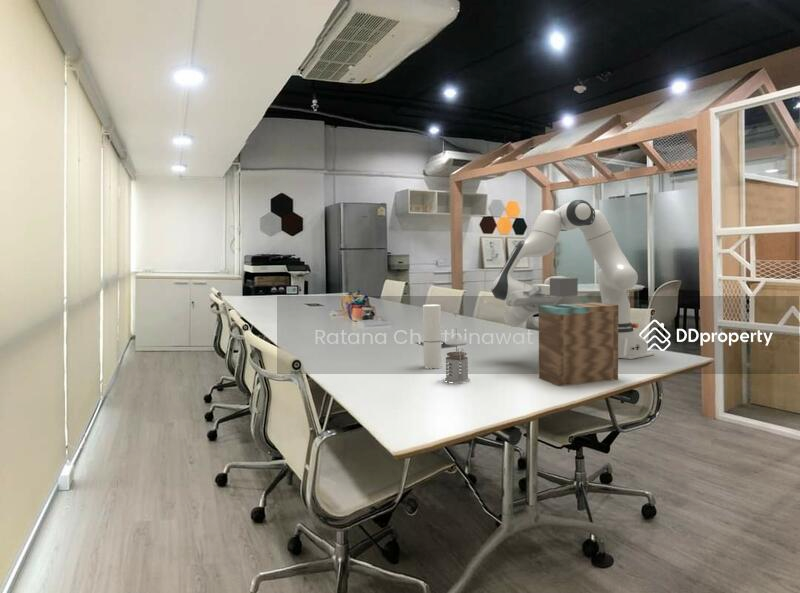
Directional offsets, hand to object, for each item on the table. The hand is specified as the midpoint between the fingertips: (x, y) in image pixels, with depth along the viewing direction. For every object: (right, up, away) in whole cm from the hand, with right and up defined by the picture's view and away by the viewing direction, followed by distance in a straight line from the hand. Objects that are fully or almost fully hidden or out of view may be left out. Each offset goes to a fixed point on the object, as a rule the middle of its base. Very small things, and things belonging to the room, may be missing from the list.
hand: (545, 287), depth 192 cm
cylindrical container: (-40, -32, +19) cm, 55 cm away
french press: (-33, -33, -5) cm, 47 cm away
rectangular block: (+1, -2, -4) cm, 5 cm away
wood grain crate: (+10, -32, -6) cm, 34 cm away
